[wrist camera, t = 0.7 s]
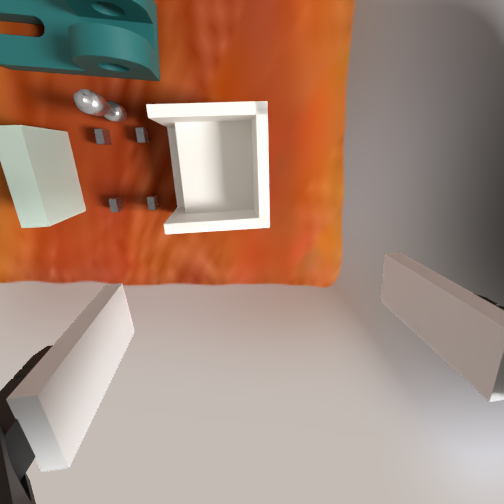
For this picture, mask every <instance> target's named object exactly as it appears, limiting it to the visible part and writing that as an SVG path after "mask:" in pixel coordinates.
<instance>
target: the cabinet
mask: <svg viewBox="0 0 504 504" xmlns="http://www.w3.org/2000/svg"><path fill="white" fill-rule="evenodd" d="M146 107H147V114H148V118H149V119H151V120H153V121H155V122H157V123H159V124H161V125H163V126H165V127H167V130H168V138H169V146H170V154H171V162H172V169H173V177H174V185H175V193H176V200H177V208H176V210H175V211H174V212H173V213H172V214H171V216H170V217H169V218H168V219H167V221H166V222H165V223H164V229H165V234H179V233H194V232H209V231H225V230H240V229H255V228H270V207H269V155H268V102H267V101H253V102H215V103H177V104H146Z"/></svg>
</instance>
